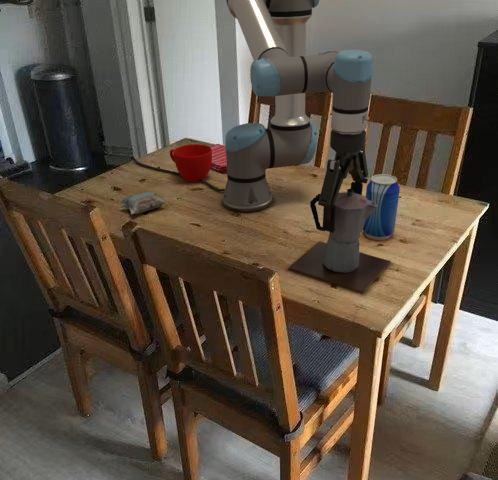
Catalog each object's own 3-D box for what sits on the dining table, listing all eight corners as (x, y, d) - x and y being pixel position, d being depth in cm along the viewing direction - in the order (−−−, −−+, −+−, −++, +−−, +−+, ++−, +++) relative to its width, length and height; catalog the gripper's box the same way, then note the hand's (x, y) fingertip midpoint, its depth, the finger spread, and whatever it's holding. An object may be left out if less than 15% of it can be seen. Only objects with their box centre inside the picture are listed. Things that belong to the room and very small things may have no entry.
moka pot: (370, 277, 128) (378, 198, 117) (305, 272, 131) (307, 195, 120) (371, 257, 136) (378, 182, 125) (310, 252, 139) (312, 179, 128)
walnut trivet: (288, 270, 134) (288, 267, 133) (319, 243, 144) (319, 241, 144) (362, 294, 124) (362, 291, 123) (390, 263, 135) (390, 260, 134)
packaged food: (167, 209, 166) (165, 194, 163) (132, 220, 160) (129, 204, 158) (154, 200, 172) (152, 186, 169) (120, 211, 166) (117, 196, 164)
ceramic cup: (184, 167, 196) (182, 140, 191) (221, 176, 187) (219, 147, 182) (160, 178, 187) (156, 150, 182) (197, 188, 179) (194, 159, 173)
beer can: (387, 244, 143) (394, 187, 134) (357, 237, 147) (362, 181, 138) (398, 231, 149) (405, 176, 140) (369, 224, 153) (374, 170, 144)
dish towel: (224, 174, 189) (223, 167, 187) (184, 158, 204) (183, 151, 202) (260, 161, 198) (260, 154, 196) (219, 147, 213) (219, 140, 211)
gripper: (337, 150, 105) (331, 245, 117) (388, 117, 122) (378, 203, 134) (303, 143, 109) (301, 236, 121) (358, 112, 126) (351, 196, 137)
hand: (342, 219), depth 127 cm, fingers open, 13 cm apart
